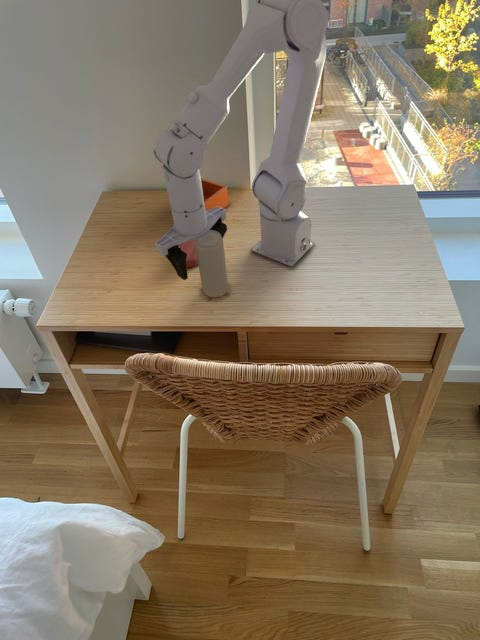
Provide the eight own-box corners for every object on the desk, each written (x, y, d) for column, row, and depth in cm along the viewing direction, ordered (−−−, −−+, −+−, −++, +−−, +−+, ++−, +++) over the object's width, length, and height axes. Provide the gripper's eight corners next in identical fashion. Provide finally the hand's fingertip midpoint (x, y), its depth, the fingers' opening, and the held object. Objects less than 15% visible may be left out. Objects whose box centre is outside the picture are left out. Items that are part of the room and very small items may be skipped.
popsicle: (220, 219, 104) (196, 263, 95) (221, 226, 106) (197, 269, 96) (197, 217, 106) (171, 260, 96) (198, 223, 107) (172, 266, 97)
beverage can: (232, 294, 90) (226, 241, 81) (207, 302, 89) (199, 249, 80) (223, 279, 93) (216, 226, 85) (199, 286, 92) (190, 234, 84)
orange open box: (228, 204, 111) (226, 186, 108) (206, 222, 107) (203, 204, 104) (201, 194, 115) (198, 177, 112) (178, 211, 111) (174, 193, 108)
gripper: (204, 178, 87) (212, 240, 96) (138, 214, 80) (154, 276, 90) (231, 191, 83) (237, 255, 92) (164, 230, 76) (178, 294, 86)
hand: (198, 266), depth 91 cm, fingers open, 7 cm apart
